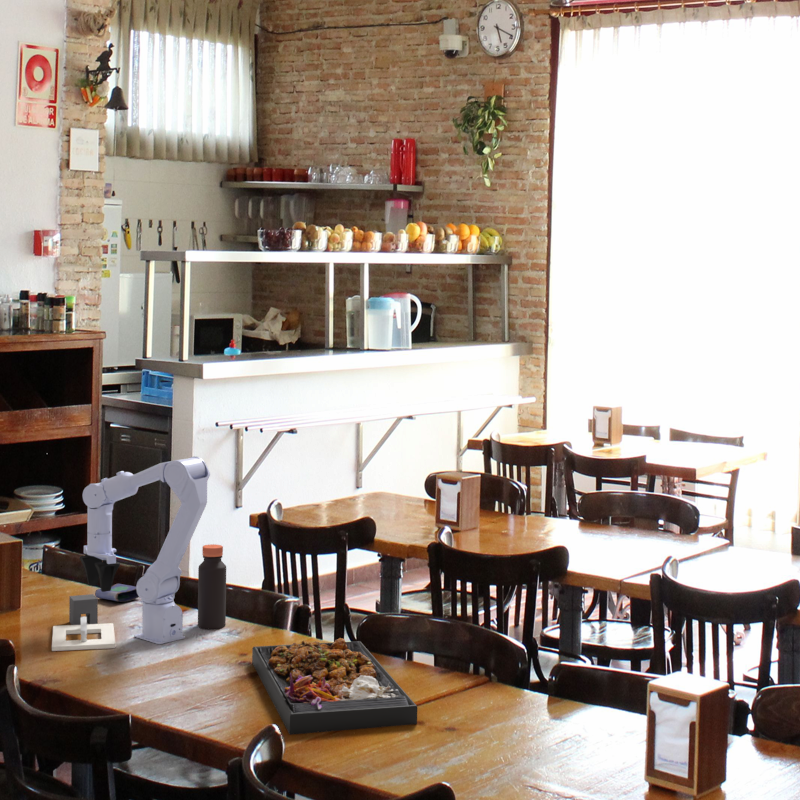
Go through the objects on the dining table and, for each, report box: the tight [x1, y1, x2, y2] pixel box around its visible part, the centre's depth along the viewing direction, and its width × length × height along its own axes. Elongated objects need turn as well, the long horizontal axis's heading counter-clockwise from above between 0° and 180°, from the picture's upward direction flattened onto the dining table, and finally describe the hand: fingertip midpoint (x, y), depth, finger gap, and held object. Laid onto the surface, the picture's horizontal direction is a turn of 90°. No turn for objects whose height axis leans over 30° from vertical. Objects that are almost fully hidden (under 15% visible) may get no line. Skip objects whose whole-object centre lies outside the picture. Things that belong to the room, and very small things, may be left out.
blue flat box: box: [94, 583, 140, 603], centre depth 319 cm, size 9×3×11 cm
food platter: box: [251, 637, 418, 736], centre depth 247 cm, size 45×25×10 cm, turn 16°
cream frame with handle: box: [51, 615, 117, 652], centre depth 282 cm, size 18×14×4 cm
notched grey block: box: [68, 593, 99, 625], centre depth 295 cm, size 6×5×6 cm
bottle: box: [197, 543, 227, 631], centre depth 294 cm, size 7×7×20 cm
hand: (99, 587), depth 290 cm, fingers open, 7 cm apart
